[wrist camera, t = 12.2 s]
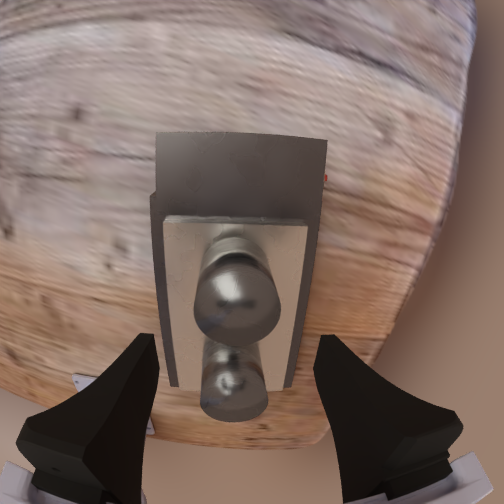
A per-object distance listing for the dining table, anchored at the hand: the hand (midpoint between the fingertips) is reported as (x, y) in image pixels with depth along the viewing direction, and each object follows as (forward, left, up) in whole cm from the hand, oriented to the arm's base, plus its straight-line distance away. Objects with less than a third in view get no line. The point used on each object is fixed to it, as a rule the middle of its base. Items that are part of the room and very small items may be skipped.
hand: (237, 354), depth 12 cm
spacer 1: (0, 0, -8) cm, 8 cm away
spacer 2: (-7, 0, -8) cm, 11 cm away
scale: (-2, 0, -10) cm, 10 cm away
